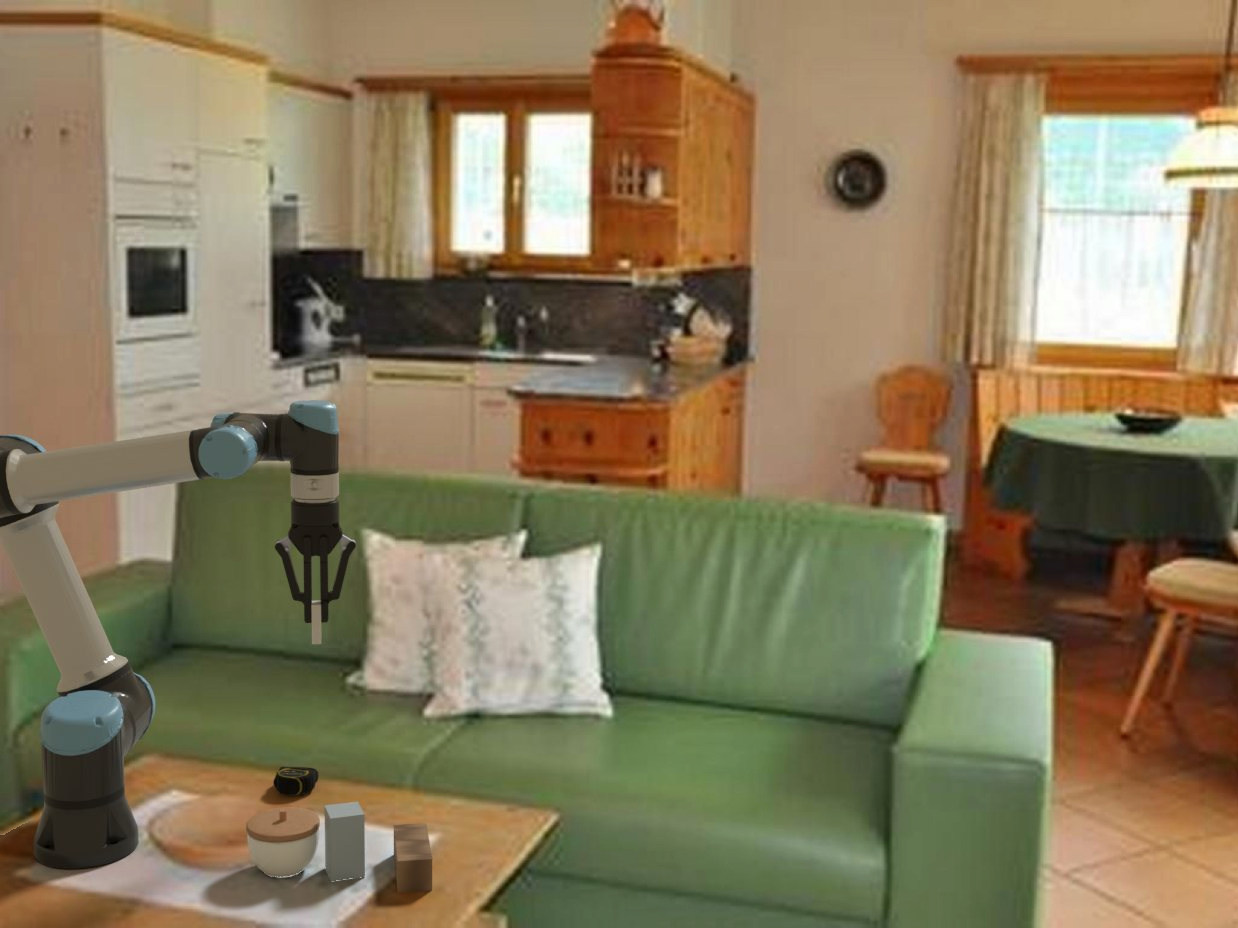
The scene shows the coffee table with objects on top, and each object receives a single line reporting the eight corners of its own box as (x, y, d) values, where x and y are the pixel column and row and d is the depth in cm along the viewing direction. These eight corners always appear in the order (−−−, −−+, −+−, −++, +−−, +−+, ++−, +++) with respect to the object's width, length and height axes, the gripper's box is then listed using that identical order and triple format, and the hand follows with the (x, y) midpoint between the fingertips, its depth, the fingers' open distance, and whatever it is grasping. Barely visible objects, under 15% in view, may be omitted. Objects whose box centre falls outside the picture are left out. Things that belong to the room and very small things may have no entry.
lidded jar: (302, 889, 206) (301, 828, 205) (234, 880, 208) (233, 820, 207) (331, 858, 216) (330, 800, 215) (266, 850, 219) (265, 793, 217)
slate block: (331, 882, 208) (330, 818, 207) (325, 867, 213) (324, 805, 211) (364, 877, 210) (364, 813, 209) (358, 863, 215) (357, 801, 213)
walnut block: (393, 854, 218) (397, 893, 206) (393, 824, 217) (397, 860, 205) (426, 852, 219) (432, 890, 207) (426, 822, 218) (432, 858, 206)
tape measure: (320, 785, 245) (319, 764, 244) (309, 800, 238) (309, 779, 238) (281, 783, 245) (280, 762, 245) (269, 798, 238) (269, 777, 238)
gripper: (271, 503, 219) (274, 649, 223) (357, 502, 222) (358, 646, 225) (273, 494, 226) (276, 636, 230) (356, 493, 229) (357, 633, 233)
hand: (316, 641), depth 228 cm, fingers closed
